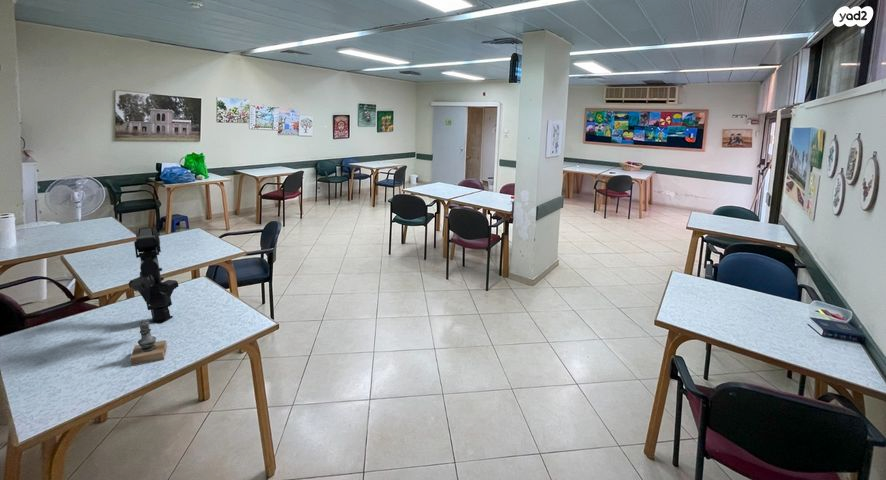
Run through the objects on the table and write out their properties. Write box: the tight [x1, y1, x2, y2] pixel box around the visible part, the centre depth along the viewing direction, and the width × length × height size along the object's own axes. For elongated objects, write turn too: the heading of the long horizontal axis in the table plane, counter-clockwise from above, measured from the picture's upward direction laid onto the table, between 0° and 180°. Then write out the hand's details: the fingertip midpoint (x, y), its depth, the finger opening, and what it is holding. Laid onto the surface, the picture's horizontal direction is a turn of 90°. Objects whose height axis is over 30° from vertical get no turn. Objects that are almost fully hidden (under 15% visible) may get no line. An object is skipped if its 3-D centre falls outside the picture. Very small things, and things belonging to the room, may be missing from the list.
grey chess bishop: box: [137, 319, 157, 352], centre depth 164 cm, size 6×6×12 cm
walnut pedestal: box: [129, 339, 168, 366], centre depth 166 cm, size 10×10×3 cm
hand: (157, 303), depth 181 cm, fingers open, 9 cm apart
